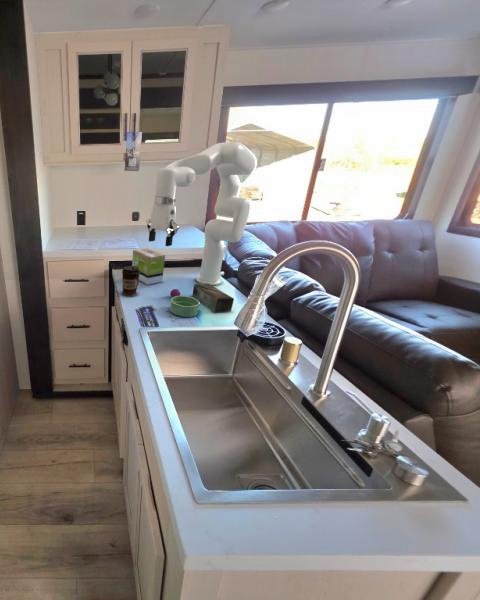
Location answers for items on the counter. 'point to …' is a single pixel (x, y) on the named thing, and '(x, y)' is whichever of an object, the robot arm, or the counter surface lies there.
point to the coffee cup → (130, 280)
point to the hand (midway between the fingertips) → (159, 243)
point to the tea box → (149, 265)
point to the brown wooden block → (212, 297)
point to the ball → (175, 293)
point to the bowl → (184, 306)
